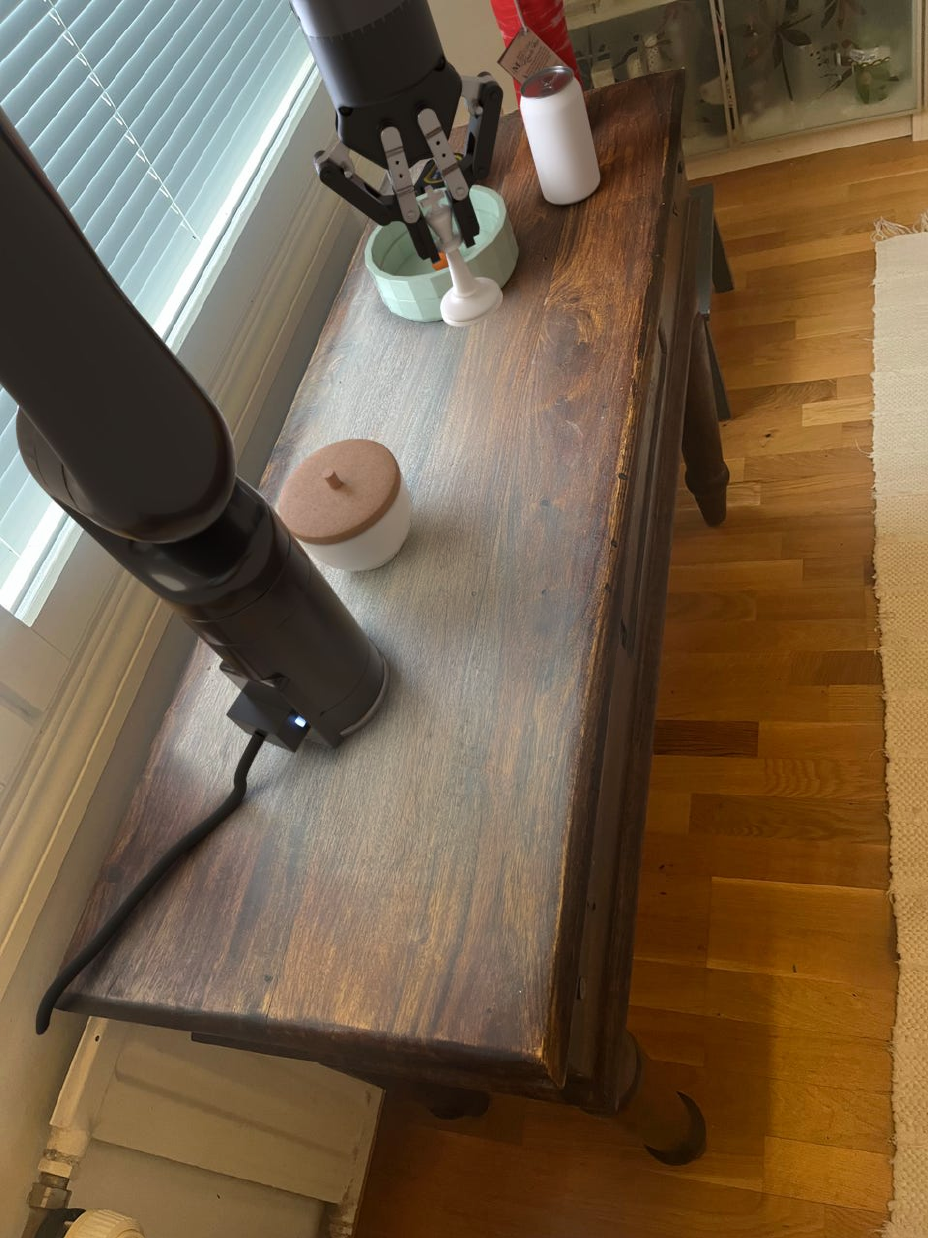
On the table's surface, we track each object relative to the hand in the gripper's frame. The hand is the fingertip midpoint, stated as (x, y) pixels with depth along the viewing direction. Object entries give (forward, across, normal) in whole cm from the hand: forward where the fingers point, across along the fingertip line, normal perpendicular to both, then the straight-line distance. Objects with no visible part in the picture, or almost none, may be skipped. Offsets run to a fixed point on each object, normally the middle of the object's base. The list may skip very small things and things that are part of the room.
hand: (451, 248), depth 67 cm
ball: (+18, +1, +29) cm, 34 cm away
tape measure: (+21, +4, +44) cm, 49 cm away
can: (+21, +17, +34) cm, 43 cm away
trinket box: (+21, -16, -4) cm, 26 cm away
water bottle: (+21, +19, +45) cm, 53 cm away
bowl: (+20, +1, +29) cm, 35 cm away
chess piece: (+5, 0, 0) cm, 5 cm away
